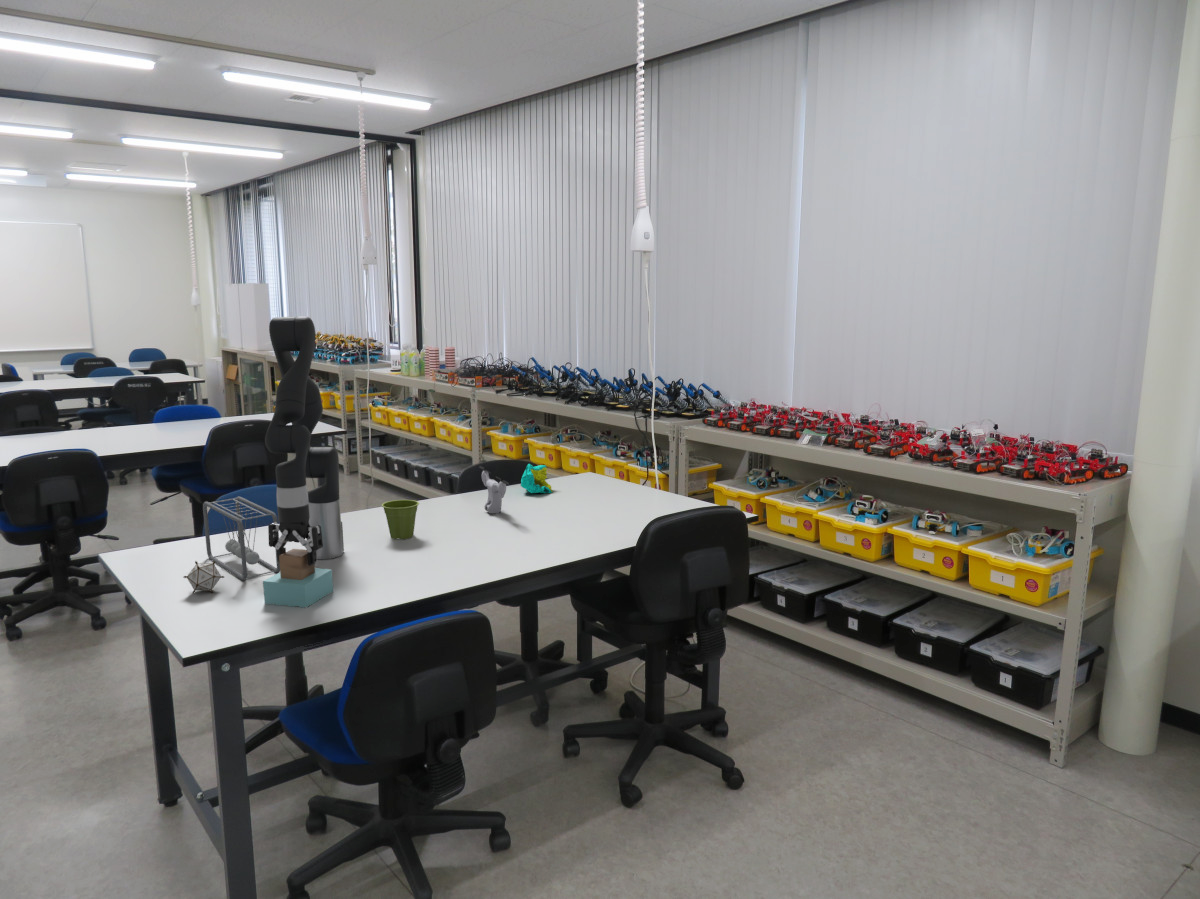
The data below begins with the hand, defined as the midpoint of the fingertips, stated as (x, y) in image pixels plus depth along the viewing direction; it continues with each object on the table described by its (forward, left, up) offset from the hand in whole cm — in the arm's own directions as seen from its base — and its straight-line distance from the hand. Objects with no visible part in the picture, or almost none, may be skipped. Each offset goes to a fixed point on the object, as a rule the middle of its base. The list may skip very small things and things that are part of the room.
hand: (297, 563), depth 205 cm
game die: (+2, -27, -9) cm, 29 cm away
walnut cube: (0, 0, -3) cm, 3 cm away
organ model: (-127, +22, -9) cm, 129 cm away
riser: (0, 0, -9) cm, 9 cm away
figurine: (-92, +18, -9) cm, 94 cm away
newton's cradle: (-19, -31, -9) cm, 38 cm away
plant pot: (-56, 0, -9) cm, 57 cm away
